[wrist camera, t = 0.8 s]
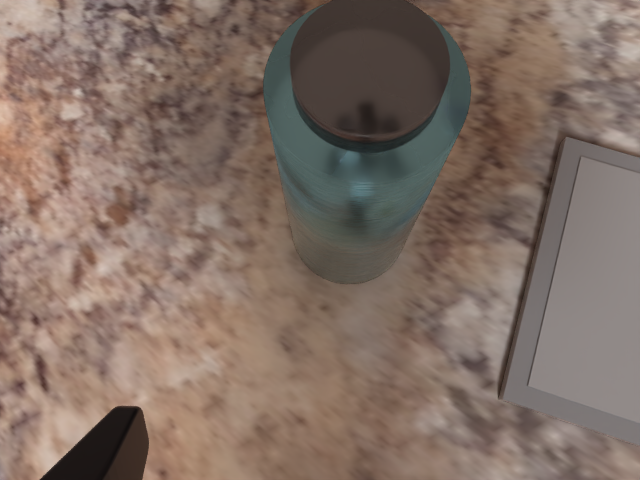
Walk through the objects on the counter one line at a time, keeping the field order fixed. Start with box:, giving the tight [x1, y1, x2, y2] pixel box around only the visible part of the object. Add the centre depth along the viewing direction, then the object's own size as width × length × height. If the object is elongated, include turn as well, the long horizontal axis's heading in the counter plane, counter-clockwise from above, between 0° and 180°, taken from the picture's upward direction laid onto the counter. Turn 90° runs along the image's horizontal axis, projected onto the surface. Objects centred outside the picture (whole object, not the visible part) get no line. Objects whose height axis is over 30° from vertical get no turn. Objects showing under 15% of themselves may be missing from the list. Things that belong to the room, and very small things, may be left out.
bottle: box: [263, 0, 471, 284], centre depth 19 cm, size 5×5×13 cm
